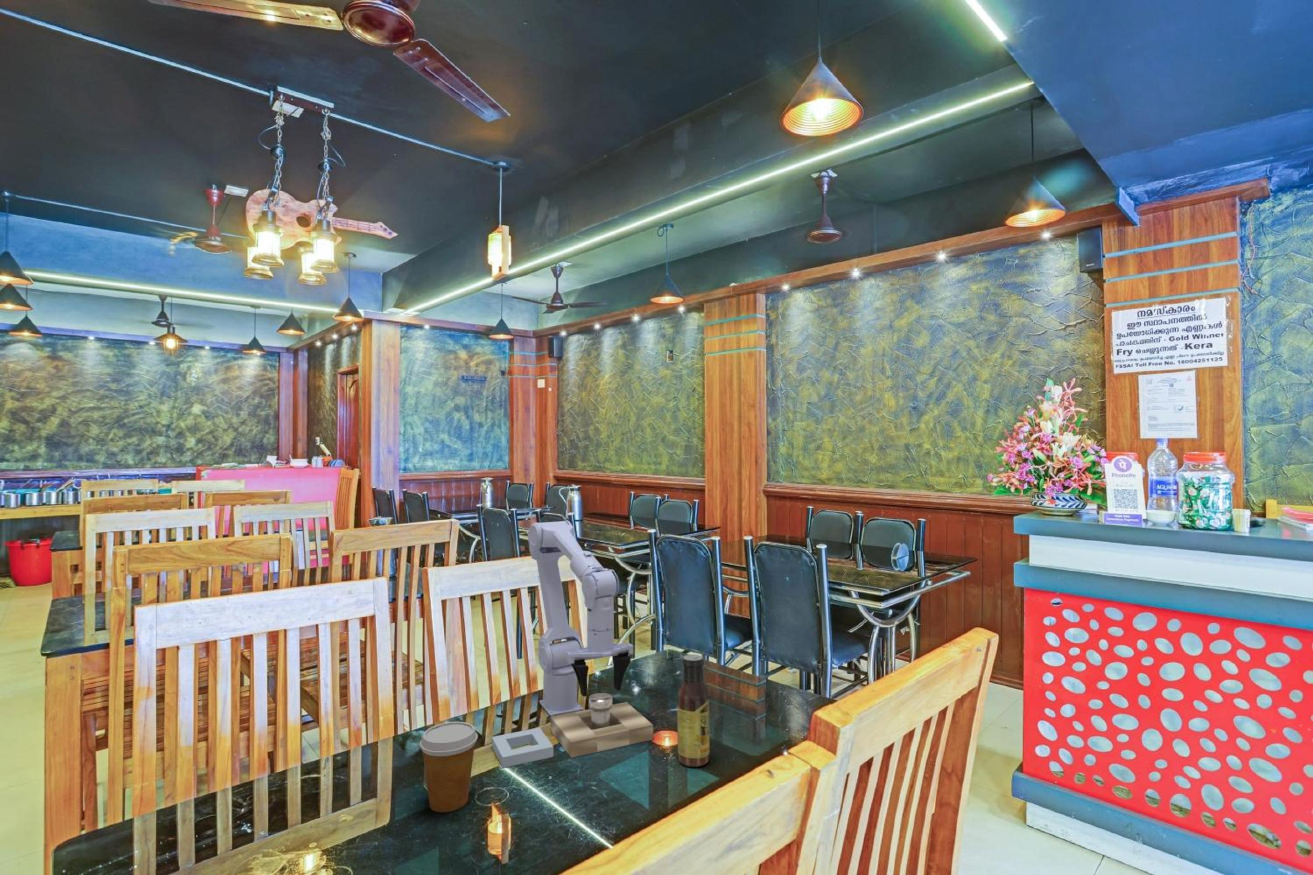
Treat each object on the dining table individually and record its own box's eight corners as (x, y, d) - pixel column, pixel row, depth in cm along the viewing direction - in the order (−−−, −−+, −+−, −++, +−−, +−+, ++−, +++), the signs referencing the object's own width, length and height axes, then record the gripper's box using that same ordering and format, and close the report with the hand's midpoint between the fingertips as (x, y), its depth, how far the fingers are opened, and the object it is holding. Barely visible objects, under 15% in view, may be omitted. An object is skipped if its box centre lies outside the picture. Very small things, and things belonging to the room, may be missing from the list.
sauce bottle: (707, 770, 120) (706, 663, 120) (675, 767, 121) (674, 662, 122) (711, 754, 126) (710, 653, 127) (680, 751, 127) (679, 651, 128)
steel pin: (585, 732, 136) (585, 695, 137) (607, 728, 139) (607, 691, 139) (593, 742, 132) (593, 703, 132) (616, 737, 134) (615, 699, 134)
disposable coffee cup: (474, 783, 115) (475, 717, 116) (480, 810, 106) (480, 738, 107) (419, 794, 112) (419, 725, 112) (419, 823, 103) (420, 748, 103)
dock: (550, 730, 138) (550, 716, 138) (626, 715, 146) (626, 701, 146) (571, 757, 125) (571, 742, 125) (653, 739, 133) (653, 724, 133)
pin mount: (491, 746, 130) (491, 736, 130) (539, 736, 135) (539, 727, 135) (502, 767, 121) (502, 757, 121) (553, 756, 126) (553, 746, 126)
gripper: (574, 636, 129) (574, 704, 129) (638, 628, 136) (639, 692, 135) (563, 628, 136) (563, 692, 135) (625, 620, 142) (626, 681, 142)
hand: (600, 691), depth 136 cm, fingers open, 7 cm apart
